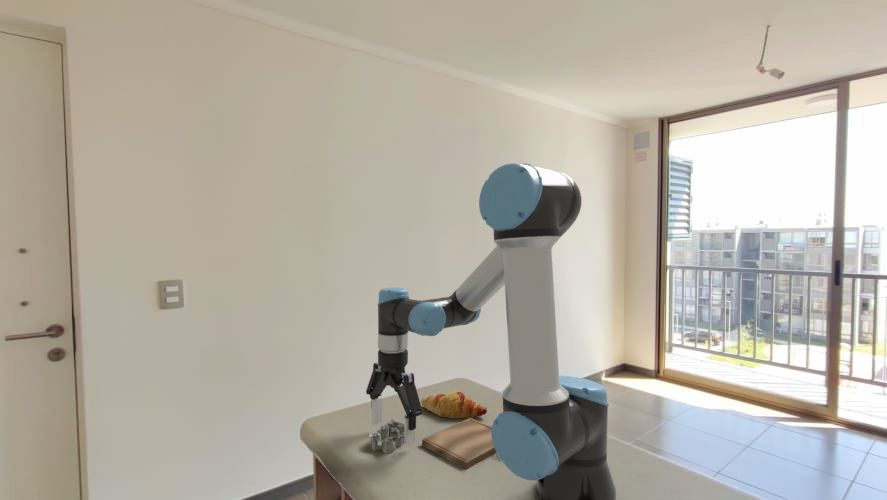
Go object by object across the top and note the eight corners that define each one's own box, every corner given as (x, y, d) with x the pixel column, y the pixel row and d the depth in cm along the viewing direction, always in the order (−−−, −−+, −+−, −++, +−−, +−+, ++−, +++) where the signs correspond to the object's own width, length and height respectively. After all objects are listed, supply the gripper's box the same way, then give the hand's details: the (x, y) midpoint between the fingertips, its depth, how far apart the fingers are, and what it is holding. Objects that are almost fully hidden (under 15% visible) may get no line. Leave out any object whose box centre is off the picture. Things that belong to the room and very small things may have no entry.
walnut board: (514, 441, 105) (514, 435, 105) (466, 469, 92) (466, 461, 92) (470, 423, 116) (470, 417, 116) (422, 445, 103) (422, 438, 103)
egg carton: (389, 457, 98) (389, 440, 98) (365, 448, 102) (365, 432, 102) (415, 438, 107) (415, 422, 107) (392, 431, 111) (392, 416, 111)
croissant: (417, 421, 125) (410, 403, 121) (429, 396, 133) (423, 377, 129) (484, 433, 116) (479, 413, 113) (493, 405, 124) (489, 385, 121)
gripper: (437, 357, 98) (436, 444, 99) (376, 337, 116) (376, 412, 117) (413, 363, 93) (412, 456, 94) (353, 342, 111) (353, 420, 111)
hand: (392, 432), depth 105 cm, fingers open, 13 cm apart
